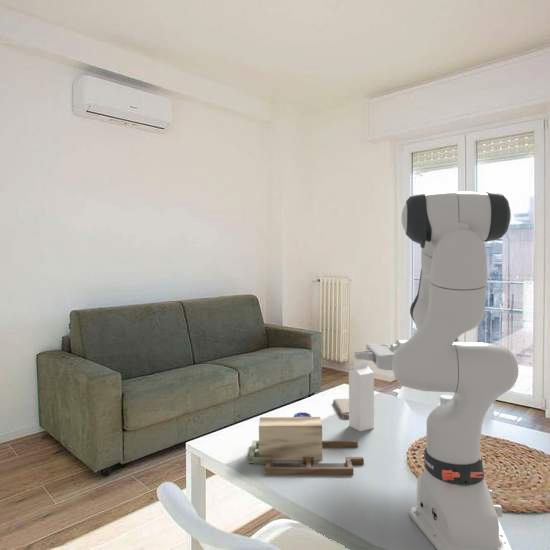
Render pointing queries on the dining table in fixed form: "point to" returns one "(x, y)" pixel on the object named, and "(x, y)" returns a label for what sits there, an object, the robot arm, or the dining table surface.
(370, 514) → the dining table surface
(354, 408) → the milk
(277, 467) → the frame
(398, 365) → the robot arm
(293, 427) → the beige rectangular block
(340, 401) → the washcloth
